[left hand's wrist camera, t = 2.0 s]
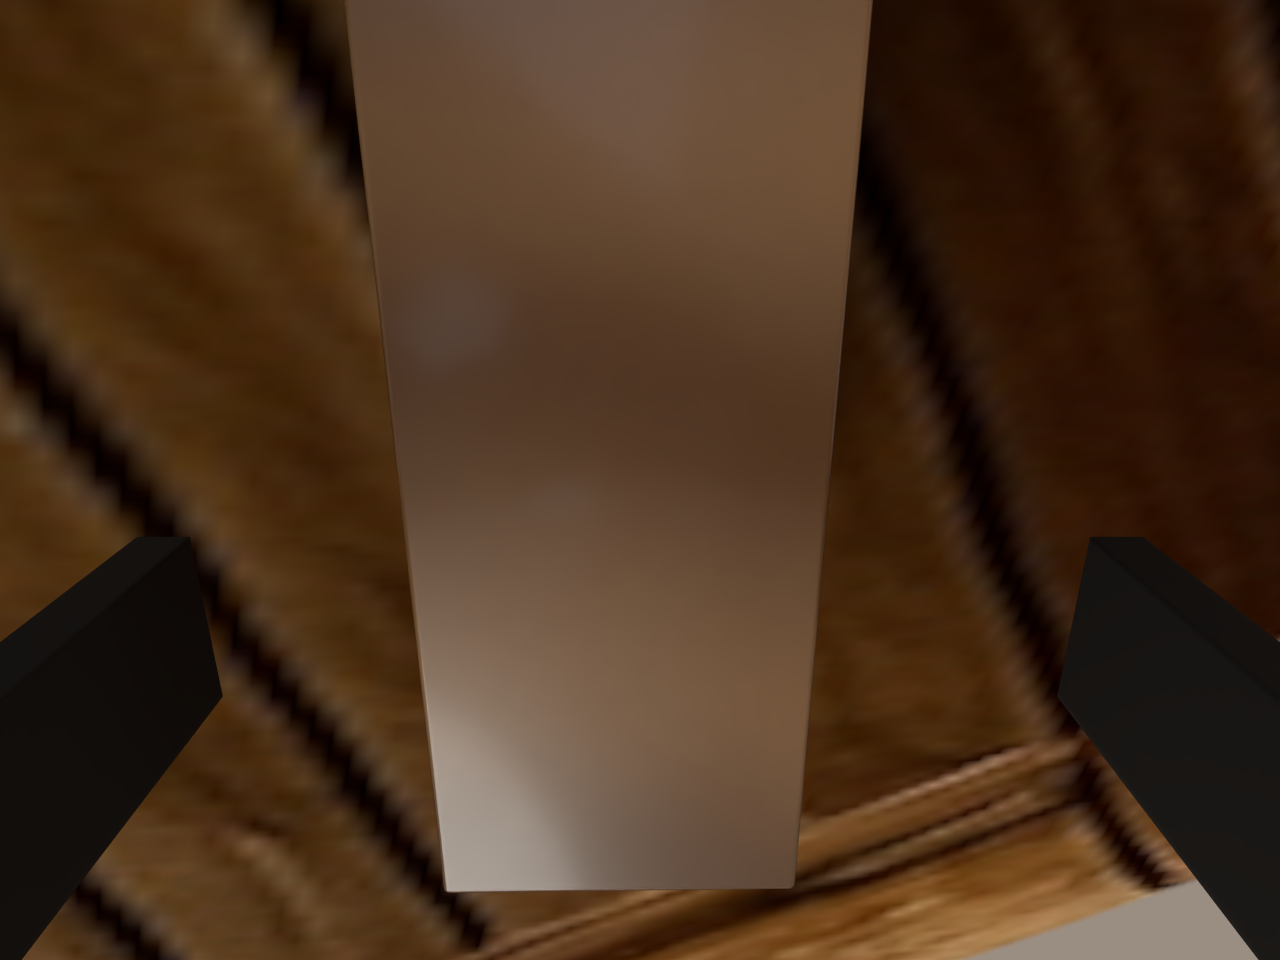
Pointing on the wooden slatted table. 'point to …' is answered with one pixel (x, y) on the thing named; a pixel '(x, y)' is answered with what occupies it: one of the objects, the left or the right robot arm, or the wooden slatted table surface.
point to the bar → (613, 414)
